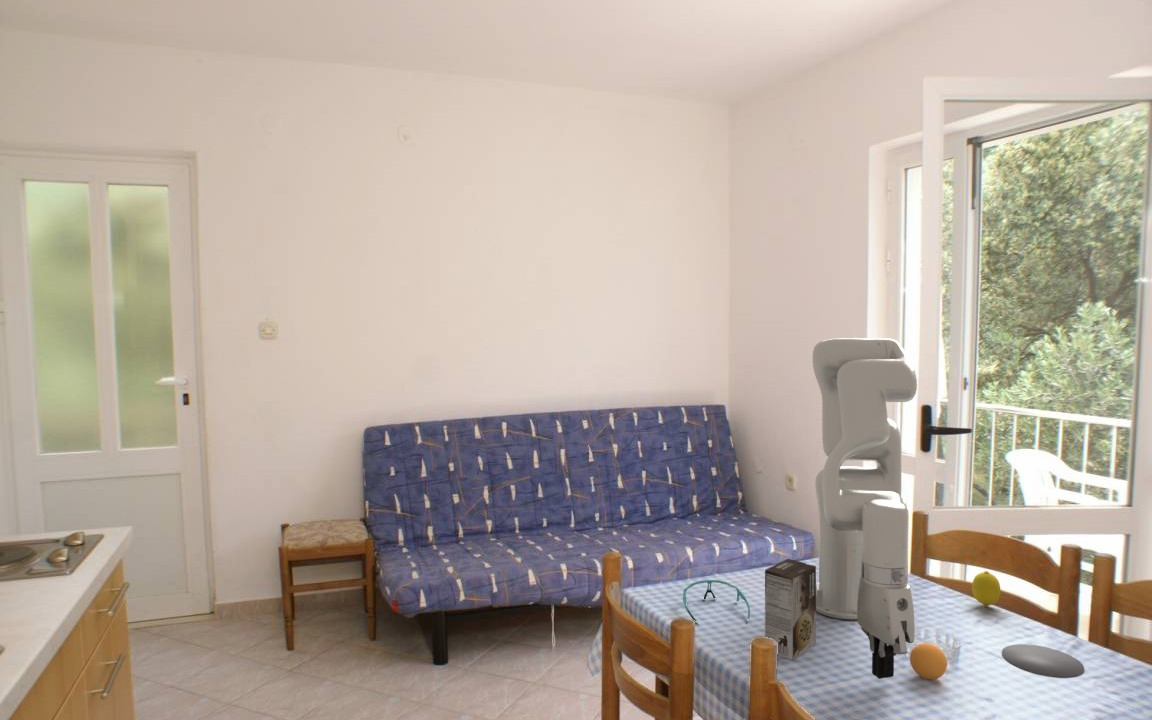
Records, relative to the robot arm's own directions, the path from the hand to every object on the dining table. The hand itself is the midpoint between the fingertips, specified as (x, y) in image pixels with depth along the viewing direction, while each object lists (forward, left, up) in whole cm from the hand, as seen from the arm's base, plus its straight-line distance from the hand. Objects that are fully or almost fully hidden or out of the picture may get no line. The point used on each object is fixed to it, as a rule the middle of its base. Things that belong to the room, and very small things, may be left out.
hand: (882, 675), depth 130 cm
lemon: (+23, +46, -2) cm, 51 cm away
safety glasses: (-33, +23, -2) cm, 41 cm away
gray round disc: (+28, +20, -2) cm, 34 cm away
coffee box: (-16, +10, -2) cm, 19 cm away
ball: (+8, +6, +1) cm, 10 cm away
